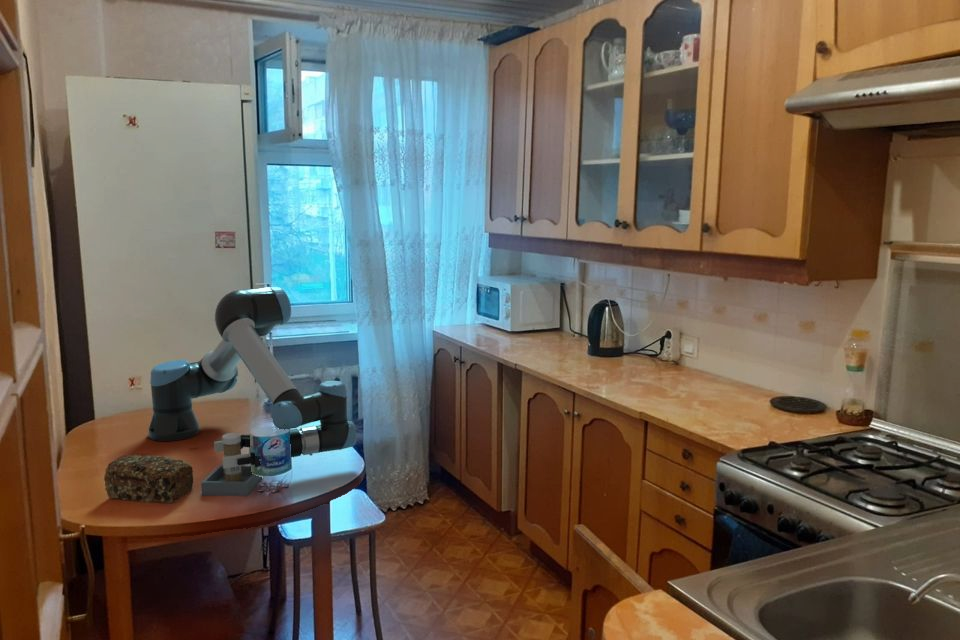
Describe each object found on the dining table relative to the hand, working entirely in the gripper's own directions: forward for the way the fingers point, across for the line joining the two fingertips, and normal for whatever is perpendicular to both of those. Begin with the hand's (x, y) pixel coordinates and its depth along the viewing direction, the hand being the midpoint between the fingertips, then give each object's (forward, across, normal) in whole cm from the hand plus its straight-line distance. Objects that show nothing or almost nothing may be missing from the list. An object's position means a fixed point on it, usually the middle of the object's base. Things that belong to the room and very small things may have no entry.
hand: (218, 454), depth 183 cm
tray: (-3, 0, -9) cm, 10 cm away
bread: (+16, +5, -10) cm, 19 cm away
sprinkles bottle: (-3, 0, -9) cm, 9 cm away
